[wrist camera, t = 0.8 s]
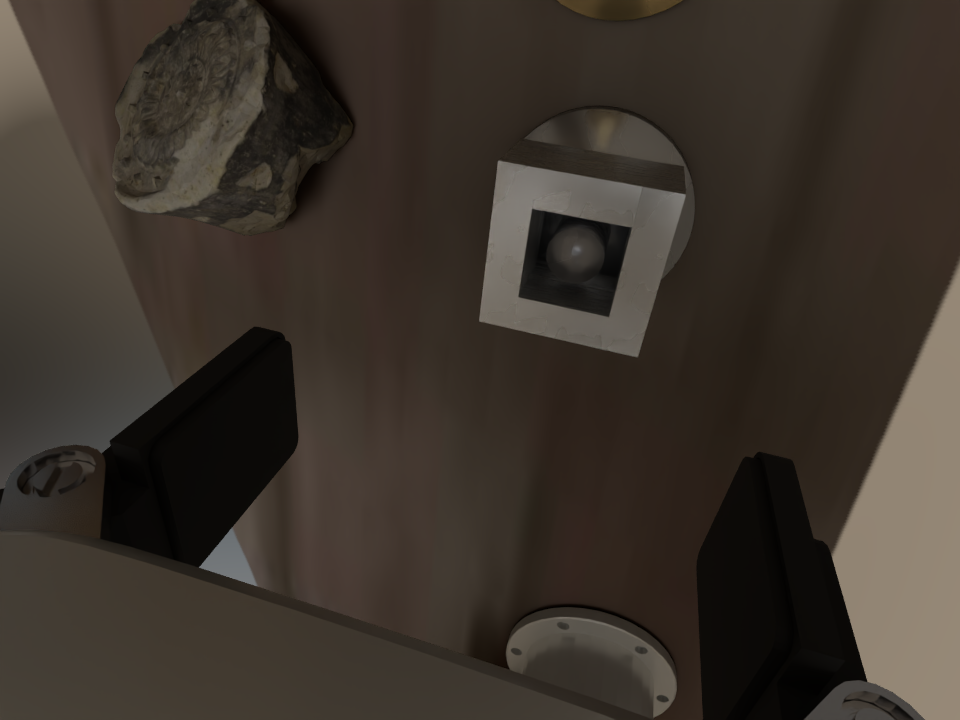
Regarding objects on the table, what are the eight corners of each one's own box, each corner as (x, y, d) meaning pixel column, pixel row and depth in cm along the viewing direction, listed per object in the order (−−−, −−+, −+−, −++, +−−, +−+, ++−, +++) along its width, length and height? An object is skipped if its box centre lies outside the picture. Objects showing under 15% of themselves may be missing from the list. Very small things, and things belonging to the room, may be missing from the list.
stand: (599, 329, 31) (585, 395, 26) (464, 218, 30) (421, 264, 25) (739, 198, 26) (756, 248, 21) (583, 58, 25) (561, 75, 20)
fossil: (202, -87, 25) (144, -7, 19) (382, 53, 30) (386, 153, 24) (116, 111, 31) (49, 225, 24) (280, 200, 36) (261, 315, 30)
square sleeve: (641, 312, 27) (637, 357, 23) (501, 282, 28) (479, 321, 24) (684, 166, 23) (686, 194, 20) (521, 138, 24) (498, 160, 21)
